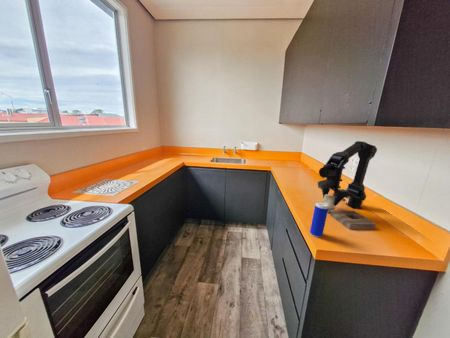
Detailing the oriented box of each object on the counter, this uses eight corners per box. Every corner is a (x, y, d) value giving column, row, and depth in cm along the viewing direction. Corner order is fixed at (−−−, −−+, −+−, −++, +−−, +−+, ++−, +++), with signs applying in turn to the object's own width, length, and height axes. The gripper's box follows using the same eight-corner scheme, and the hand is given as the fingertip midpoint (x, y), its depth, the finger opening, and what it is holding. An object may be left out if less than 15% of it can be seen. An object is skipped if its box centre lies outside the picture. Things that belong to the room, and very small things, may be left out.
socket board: (330, 215, 102) (331, 210, 102) (352, 215, 104) (353, 210, 103) (349, 229, 89) (350, 223, 88) (374, 229, 90) (376, 223, 90)
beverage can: (318, 231, 85) (324, 202, 82) (324, 238, 80) (331, 207, 77) (307, 231, 85) (313, 201, 81) (313, 237, 80) (319, 206, 76)
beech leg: (319, 209, 109) (322, 194, 107) (328, 209, 110) (331, 194, 107) (325, 214, 103) (329, 198, 101) (335, 214, 104) (339, 198, 101)
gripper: (312, 171, 109) (307, 195, 113) (333, 181, 91) (327, 209, 95) (329, 172, 110) (324, 196, 114) (353, 181, 92) (346, 209, 96)
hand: (329, 202), depth 105 cm, fingers open, 9 cm apart
